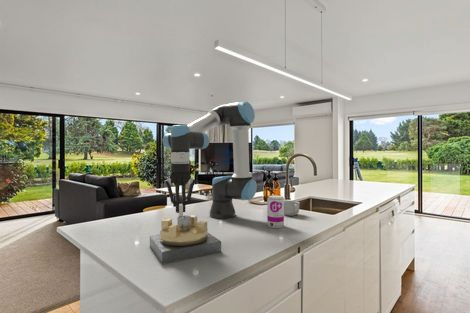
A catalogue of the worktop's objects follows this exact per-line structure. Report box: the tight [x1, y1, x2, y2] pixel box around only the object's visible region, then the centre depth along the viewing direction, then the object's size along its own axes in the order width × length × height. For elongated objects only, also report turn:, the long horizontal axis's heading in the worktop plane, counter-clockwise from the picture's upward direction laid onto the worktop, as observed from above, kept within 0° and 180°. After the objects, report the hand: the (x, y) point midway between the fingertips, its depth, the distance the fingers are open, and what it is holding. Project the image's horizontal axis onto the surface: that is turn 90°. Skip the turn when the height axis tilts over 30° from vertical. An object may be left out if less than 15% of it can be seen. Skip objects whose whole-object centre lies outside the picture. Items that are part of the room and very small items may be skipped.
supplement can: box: [266, 194, 285, 229], centre depth 135 cm, size 8×8×15 cm
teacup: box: [284, 200, 300, 217], centre depth 158 cm, size 14×11×8 cm
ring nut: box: [159, 214, 209, 246], centre depth 104 cm, size 18×18×8 cm
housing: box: [149, 232, 222, 265], centre depth 104 cm, size 20×22×4 cm
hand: (180, 220), depth 111 cm, fingers closed
